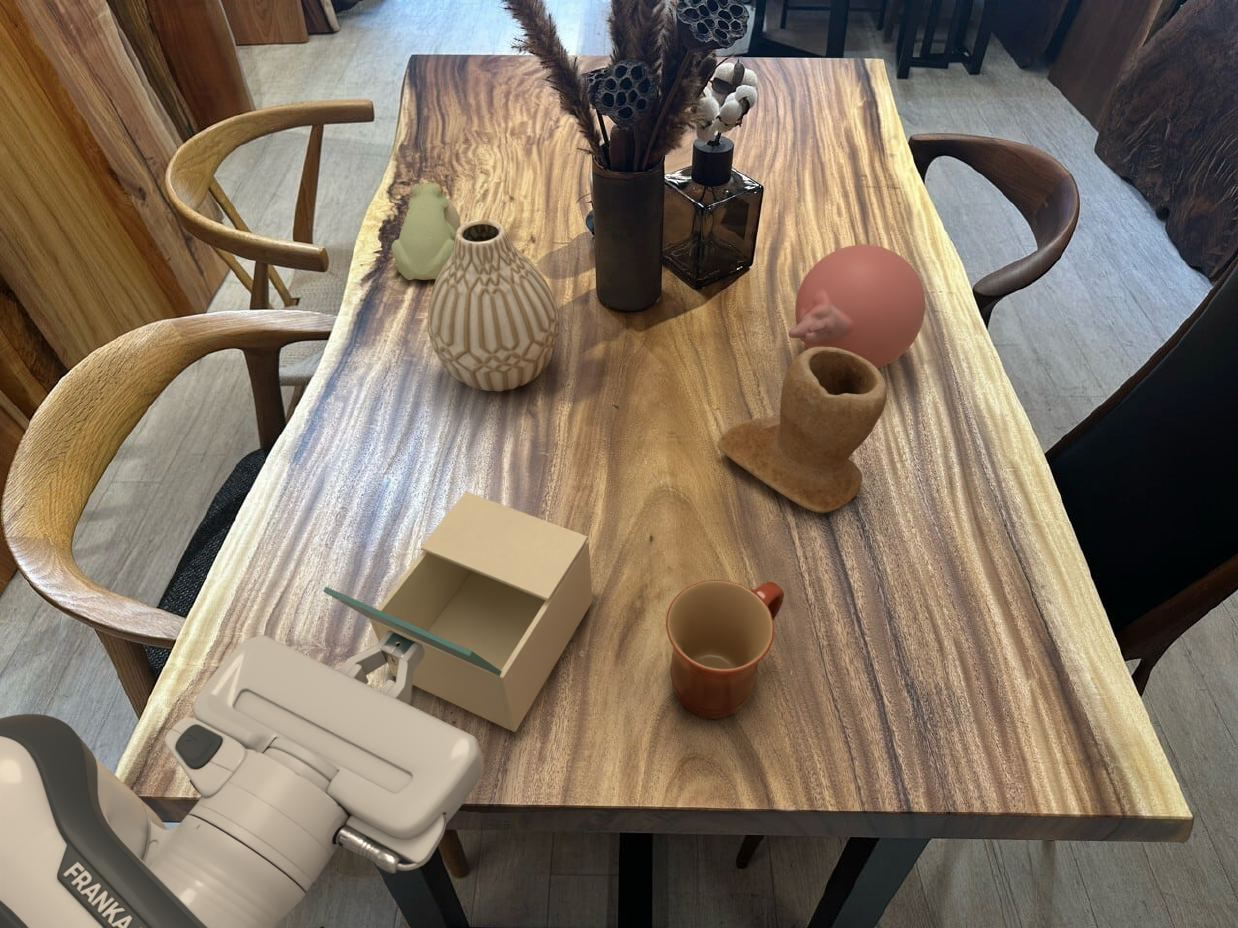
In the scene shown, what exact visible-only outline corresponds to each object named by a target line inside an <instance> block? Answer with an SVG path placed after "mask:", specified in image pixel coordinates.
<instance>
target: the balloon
mask: <svg viewBox="0 0 1238 928" xmlns="http://www.w3.org/2000/svg"><path fill="white" fill-rule="evenodd" d="M794 305H795V306H794V307H795V308H794V310H795V311H794V315H795V324H796V325H795V326H794V328H791V329H790V330H789V331H788V337H790V339H799V340H800V342H802V343H803V344H804V346H805V347H806V348H807V350H808V349H810V348H813V347H834V348H839V349H843V350H846V351H849V352H852V353H854V354H856V355H859V356H860V357H862V358H864V359H866V360H867V361H869V362H870V363H872V364H873V365H874V366H875V367H876V368H877V369H880V368H882V367H885V366H887V365H889V364H891V363H892V362H894V361H896V360H897V359H898V358H900V357H901V356H903V354H904V353H905V352H907V351H908V349H910V348H911V346H912V345H913V344H914V342H915V341H916V339H917V338H918V335H919V333H920V331H921V329H922V326H923V323H924V320H925V313H926V296H925V289H924V286H923V284H922V281H921V279H920V276H919V275H918V273H917V272H916V270H915V269H914V268H913V266H912V265H911V264H910V263H909V261H907V260H906V259H905V258H903V256H901V255H900V254H898V253H897V252H894V251H893V250H891V249H888V248H886V247H883V246H879V245H873V244H853V245H848V246H845V247H842V248H839V249H837V250H834V251H832V252H830V253H828V254H827V255H825V256H823V257H822V258H821V259H820V260H819V261H818V262H816V263H815V264H814V265H813V266H812V268H810V270H809V271H808V272H807V273H806V275H805V276H804V278H803V280H802V282H801V284H800V287H799V289H798V292H797V295H796V299H795V304H794Z"/></svg>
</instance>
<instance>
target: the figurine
mask: <svg viewBox="0 0 1238 928" xmlns="http://www.w3.org/2000/svg"><path fill="white" fill-rule="evenodd" d="M407 206H408V210H407V213H406V215H405V218H404V221H403V224H402V227H401V230H400V232H399V237H398V239H395V240H394V241H393V242H392V244H391V252H392V255H393V258H394V261H395V263H396V269H397V271H398V273H399V274H401V276H402V277H403V278H405V279H406V280H408V281H411V280H422V281H427V280H428V281H429V280H435V281H436V279H437V277H438V275H439V273H440V271H441V270H442V268H443V266H444V265H445V263H446V261H447V260H448V259H449V257H450V256H451V254H452V251H453V247H454V242H455V236H456V232H457V230H458V228H459V227H460V226H462V223H461V218H460V215H459V212H458V210H457V208H456V207H455V206H454V204H453V203H452V202H451V201H450V199H448V198H447V197H446V195H445V193H444V188H443V186H440V184H439V183H436V182H427V183H423V185H421V183H415V184H414V185H413V186H412V187H411V198H410V200H409V202H408V205H407Z"/></svg>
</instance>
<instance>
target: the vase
mask: <svg viewBox="0 0 1238 928" xmlns="http://www.w3.org/2000/svg"><path fill="white" fill-rule="evenodd" d="M427 309H428V310H427V333H428V336H429V340H430V343H431V345H432V348H433V351H434V353H435V355H436V357H437V359H438V360H439V361H440V362H441V364H442V366H443V367H444V368H445V370H447V371H448V372H449V374H450V375H452V376H453V377H454V378H455V379H456V380H458V381H459V382H460V383H463V384H464V385H467V386H469V387H471V388H473V389H477V390H481V391H486V392H506V391H511V390H514V389H518V388H520V387H523V386H525V385H527V384H528V383H530V382H531V381H533V380H534V379H535V378H537V377H539V375H540V374H541V373H542V372H543V371H544V370H545V369H546V367H547V366H548V364H549V363H550V361H551V359H552V357H553V355H554V353H555V350H556V348H557V344H558V341H559V335H560V333H559V332H560V316H559V315H560V314H559V310H558V307H557V303H556V301H555V298H554V294H553V293H552V290H551V288H550V286H549V284H548V282H547V280H546V279H545V277H544V275H543V274H542V273H541V272H540V270H539V269H538V268H537V267H536V265H534V263H532V261H531V260H530V259H529V258H528V257H527V256H525V254H523V252H521V251H520V250H519V249H518V248H517V247H516V246H515V244H513V242H512V240H511V238H510V237H509V234H508V232H507V230H506V228H505V227H504V225H503V224H502V223H500V222H498V221H496V220H492V219H489V218H487V219H486V218H481V219H474V220H469V221H467V222H465V223H463V224H461V225H460V227H459V228H458V230H457V232H456V236H455V242H454V247H453V251H452V254H451V256H450V257H449V259H448V260H447V261H446V263H445V265H444V266H443V268H442V270H441V271H440V273H439V275H438V277H437V279H436V280H435V282H434V284H433V287H432V289H431V293H430V297H429V303H428V308H427Z"/></svg>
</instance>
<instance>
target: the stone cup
mask: <svg viewBox="0 0 1238 928" xmlns="http://www.w3.org/2000/svg"><path fill="white" fill-rule="evenodd" d="M887 400H888V388H887V384H886V381H885V378H884V376H883V375H882V373H881V371H880V370H879V368H876V367H875V366H874V365H873V364H872V363H870V362H869V361H867V360H866V359H864V358H862V357H860V356H859V355H856V354H854V353H852V352H849V351H846V350H843V349H839V348H834V347H813V348H810V349H808V348H807V349H805V350H803V351H802V352H801V353H799V354H798V356H796V357H795V359H794V360H793V361H792V362H791V363H790V365H789V366H788V368H787V370H786V372H785V375H784V379H783V382H782V387H781V391H780V402H779V403H780V404H779V405H780V407H779V415H773V416H765V417H763V418H757V417H755V418H752V419H746V420H745V421H741V422H740V423H738V424H736V425H735V426H733V427H732V428H730V429H729V430H727V432H725V433H724V434H723V435H721V437H720V438H719V440H718V442H717V444H716V448H717V449H718V450H719V451H721V453H723V454H724V455H726V456H727V457H728V458H729V459H730V460H732V461H733V462H734V463H736V464H737V465H738V466H740V468H742V469H744V470H745V471H747V473H750V474H751V475H753V476H754V477H755V478H756V479H758V480H760V481H761V482H762V483H764V484H765V485H767V486H768V487H770V488H771V489H773V490H774V491H776V492H778V493H779V494H781V495H783V497H785V498H787V499H788V500H790V501H791V502H793V503H795V504H797V505H798V506H799V507H802V508H804V509H806V510H808V511H812V512H813V513H818V514H826V513H830V512H833V511H835V510H837V509H840V508H842V507H843V506H844V505H847V503H849V502H850V501H852V499H853V498H854V497H855V496H856V495H857V494H858V492H859V491H860V489H861V486H862V481H863V473H862V471H861V469H859V468H858V466H857V465H855V463H854V462H853V461H852V460H851V459H850V457H851V456H852V455H853V453H854V452H855V451H856V450H857V449H858V448H860V447H861V445H862V444H863V443H864V442H865V440H866V439H867V438H868V437H869V436H870V434H871V433H872V432H873V430H874V428H875V426H876V424H877V423H878V421H879V419H880V417H881V416H882V415H883V411H884V410H885V407H886V404H887Z"/></svg>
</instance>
